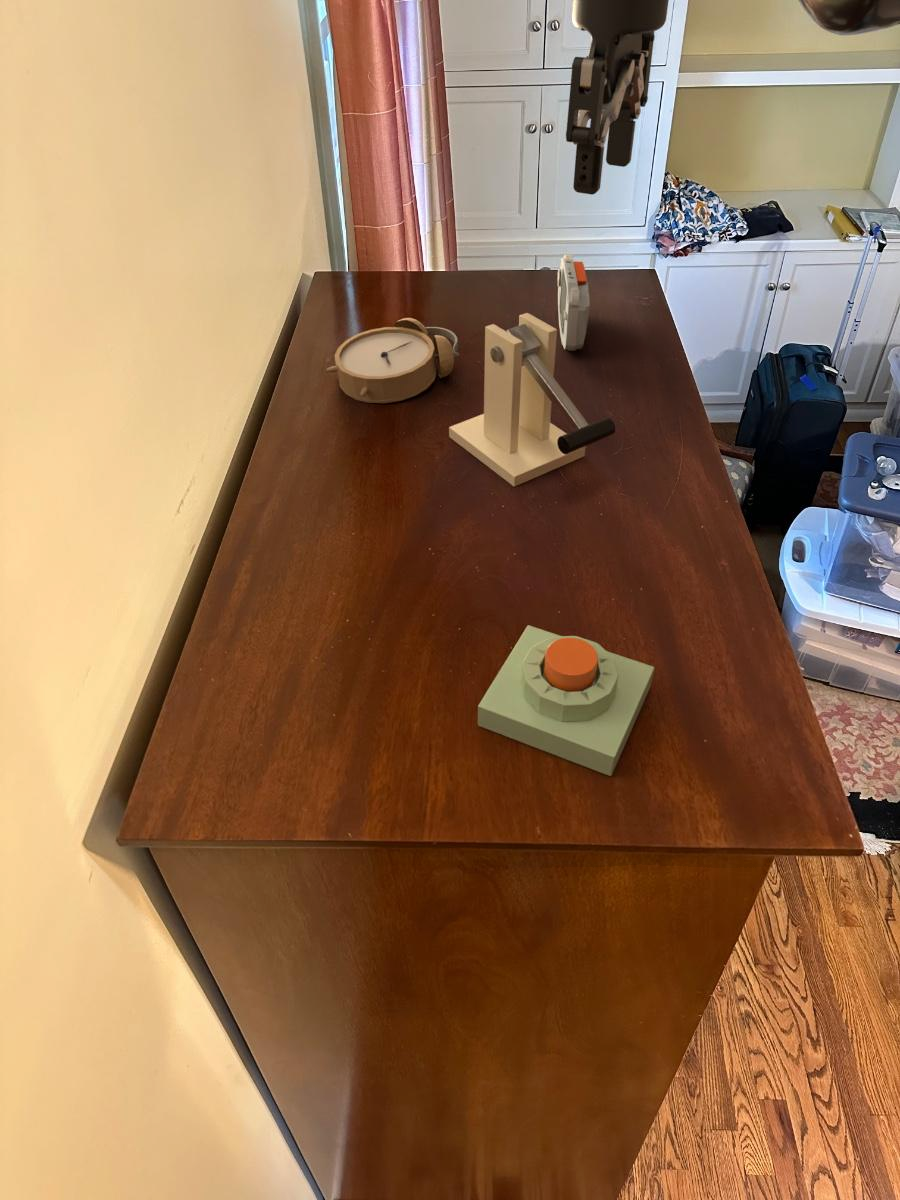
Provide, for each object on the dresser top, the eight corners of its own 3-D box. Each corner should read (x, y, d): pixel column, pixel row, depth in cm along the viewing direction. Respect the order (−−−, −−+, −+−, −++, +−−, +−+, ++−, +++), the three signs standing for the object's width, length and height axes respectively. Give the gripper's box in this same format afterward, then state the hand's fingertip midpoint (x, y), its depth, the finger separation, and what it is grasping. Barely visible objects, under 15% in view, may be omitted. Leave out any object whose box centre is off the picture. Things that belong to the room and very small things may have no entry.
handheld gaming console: (554, 308, 112) (559, 246, 106) (577, 308, 111) (582, 246, 106) (561, 362, 101) (567, 295, 96) (587, 362, 101) (594, 295, 95)
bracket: (584, 456, 87) (597, 336, 78) (514, 487, 83) (519, 365, 74) (517, 410, 93) (522, 295, 84) (448, 436, 89) (446, 319, 81)
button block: (650, 686, 64) (658, 649, 61) (611, 777, 58) (618, 740, 55) (526, 644, 67) (529, 607, 65) (477, 725, 62) (477, 688, 59)
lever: (609, 440, 80) (619, 425, 77) (563, 460, 77) (573, 444, 75) (530, 336, 83) (538, 318, 81) (485, 352, 81) (492, 334, 79)
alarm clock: (313, 352, 97) (419, 295, 102) (325, 388, 101) (427, 332, 105) (366, 392, 91) (477, 329, 95) (377, 429, 94) (483, 367, 99)
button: (602, 664, 61) (605, 646, 60) (585, 699, 59) (587, 682, 57) (555, 648, 62) (556, 630, 61) (536, 681, 60) (537, 664, 59)
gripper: (644, -31, 61) (617, 209, 72) (697, -55, 70) (665, 161, 81) (545, -36, 63) (533, 196, 74) (609, -58, 72) (590, 151, 83)
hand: (602, 178), depth 78 cm, fingers open, 8 cm apart
